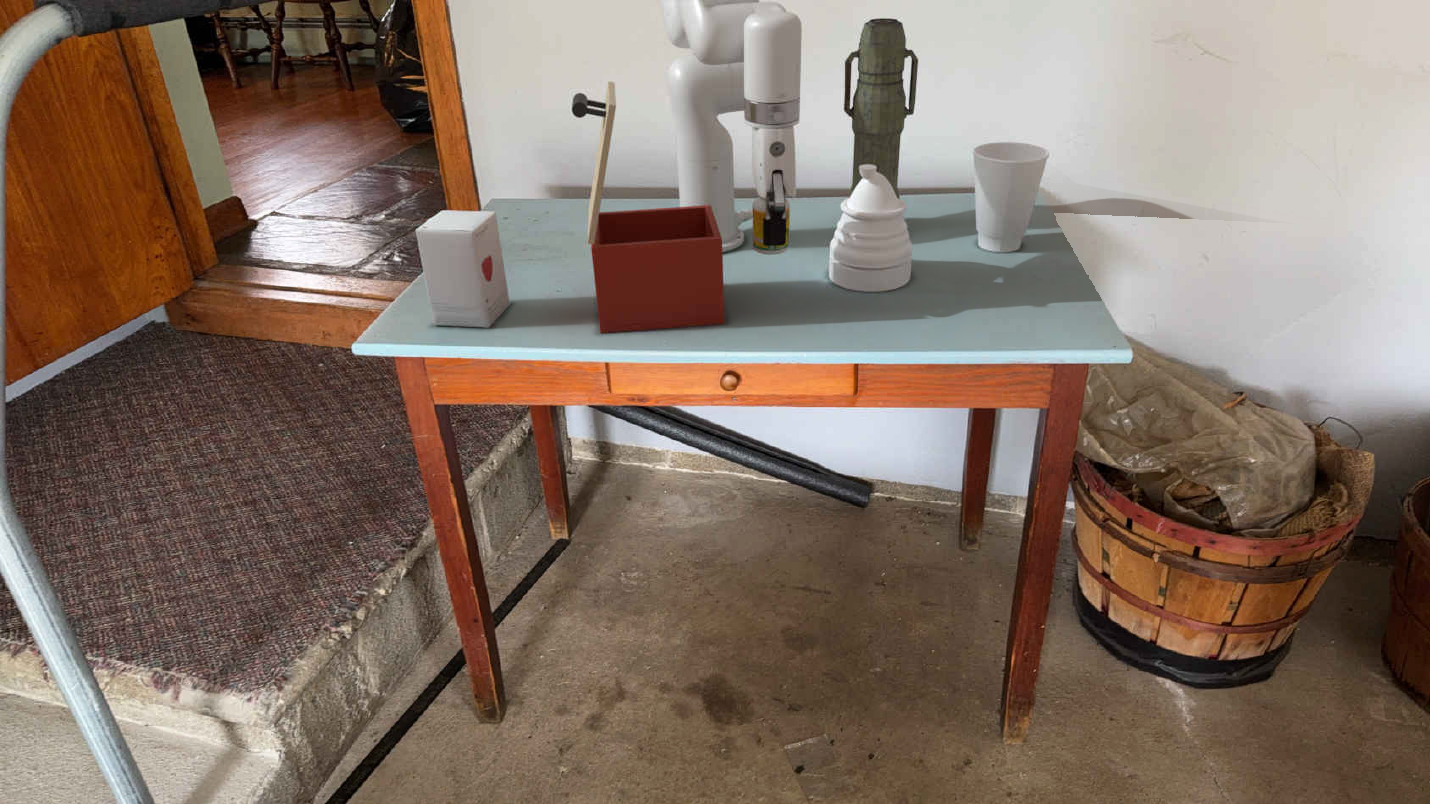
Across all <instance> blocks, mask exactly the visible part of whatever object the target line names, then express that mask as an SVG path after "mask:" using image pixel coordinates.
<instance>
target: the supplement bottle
mask: <svg viewBox="0 0 1430 804" xmlns="http://www.w3.org/2000/svg"><path fill="white" fill-rule="evenodd" d="M756 195H758V196H759V197H756V198H754V200H753V202H752V207H751V208H752V248H753V250H754V251H755V252H756V253H759V254H762V255H766V256H767V255H768V256H773V255H781V254H783V253H785V252H787V250H788V249H789V247H790V217H791V216H790V215H791V214H790V212H791V211H790V210H791V208H790V207H791V203H790V201H789V199H788V198H787V197H785V210H786V243H785V245H777V246H764V244H763V218H765V200H764V199H763V198H762V197H761V196H760V194H759V192H758V190H757V189H756ZM768 197H774V195H773V193H768ZM773 203H774V201H770V207H771V205H774V204H773Z"/></svg>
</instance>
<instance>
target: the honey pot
mask: <svg viewBox="0 0 1430 804" xmlns="http://www.w3.org/2000/svg"><path fill="white" fill-rule="evenodd" d="M876 168H877V167H876V166H875V165H870V164H866V165H861V166H859V171H860V175H861V176H862V179H861V181H860V182H859V183H858V185H857V186H856V188H855V189H854V191H853V193H852V194H851V196H850V198H849V197H848V198H846V199H844V200H843V201H842V202H841V203H840V210H841V211H842V214H841V216H840V218H839V220H838V221H837V223H836V230H835V231H834V236H833V238H832V239H831V241H830V243H829V249H830V250H829V262H828V263H829V264H828V278H829V280H830V281H831V282H832V283H834V284H835V285H837V286H838V287H841V288H844V289H847V290H851V291H857V292H866V293H867V292H869V293H870V292H872V293H873V292H875V293H877V292H886V291H891V290H895V289H896V290H897V289H899V288H901V287H904V286H905V285H906V284H908V283H909V282H910V279H911V272H912V260H913V258H912V255H913V244H912V241H911V239H910V233H909V231H908V224H907V222H906V221H905V219H904V215H903V214H905V212H906V211H907V208H908V207H907V204H906V202H905V201H903V200H902V199H898V198H897V197H896V194H895V192H894V190H893V188H892V186H891V184H890V183H889V181H888V180H887V179H886V178H885V177H884V176H883V175H882V174H880V173H878V172H876Z"/></svg>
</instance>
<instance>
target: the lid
mask: <svg viewBox="0 0 1430 804" xmlns="http://www.w3.org/2000/svg"><path fill="white" fill-rule="evenodd" d="M606 87H607V88H606V94H605V100H604V102H602V101H596V100H591V99H589V98H588V96H587V95H586V94H584V93H582V92H578V93H576V94H574V96H573V97H572V103H571V112H572V115H573V116H574V117H576V118H579V119H581V118H584V117H585V116H587V115H591V116H596V117H600V118H602V119H601V125H600V133H599V140H598V145H597V151H596V152H597V153H596V158H595V166H594V170H593V171H594V172H593V179H592V186H591V192H590V196H589V197H590V198H589V204H588V216H587V217H588V218H587V219H588V221H587V244H588V245H591V244H594V242H595V236H596V229H597V223H598V217H599V213H600V210H601V204H602V198H603V191H604V184H605V179H606V173H607V172H606V171H607V166H608V160H609V155H610V154H609V153H610V147H611V141H612V134H613V128H614V121H615V116H616V110H617V101H616V100H617V99H616V98H617V97H616V83H615V81H614V82H613V81H607V86H606Z"/></svg>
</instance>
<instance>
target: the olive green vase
mask: <svg viewBox="0 0 1430 804" xmlns="http://www.w3.org/2000/svg"><path fill="white" fill-rule="evenodd" d="M906 44H907V37H906V33H905V29H904V25H903V22H901V21H899V20H898V19H896V18H887V17H885V18H871V19H869V20H868V21H867V22H864V24H863V27H862V30H861V33H860V38H859V43H858V49H857V50H854V51H851V52H850V54H849V55H848V56H847V58H845V60H844V97H843V99H844V100H843V111H844V113H845V114H846V115H847V116H848V117H850V118H851V129H852V133H853V155H852V156H853V157H852V159H853V160H852V161H853V162H852V182H851V183H852V184H851V186H850V189H849V195H848V198H850V196H851V194H852V193H853V191H854V189H855V188H856V186H857V185H858V183H859V182H860V181H861V179H862V176H861V175H860V171H859V166H861V165H866V164H870V165H875V166H876V167H877V168H876V172H878V173H880V174H882V175H883V176H884V177H885V178H886V179H887V180H888V181H889V183H890V184H891V186H892V188H893V190H894V192H895V194H896V197H897V198H898V199H900V198H901V197H900V193H899V189H898V183H899V182H898V180H899V166H900V165H899V164H900V153H901V152H900V151H901V150H900V149H901V137H902V136H901V135H902V133H903V131H904V129H905V120H906V119H907V117H908V116H912V115H914V113H915V105H916V97H917V96H916V95H917V84H918V83H917V81H918V68H919V59H918V57H917V55H916V54H915V51H913V49H908V48H907V47H906V46H907V45H906ZM909 57H910V58H911V63H910V66H911V67H910V80H909V93H908V95H909V96H908V107H907V106H906V103H907V96H906V92H905V88H904V78H903V75H904V71H905V64H906V63H905V62H906V61H905V60H906V59H908V58H909ZM855 58H857V59H858V60H857V72H858V78H857V79H856V81H857V82H856V88H855V92H854V94H853V97H852V106H851V92H852V89H851V88H852V87H851V86H852V64H853V61H854V59H855ZM900 200H901V199H900Z"/></svg>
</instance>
